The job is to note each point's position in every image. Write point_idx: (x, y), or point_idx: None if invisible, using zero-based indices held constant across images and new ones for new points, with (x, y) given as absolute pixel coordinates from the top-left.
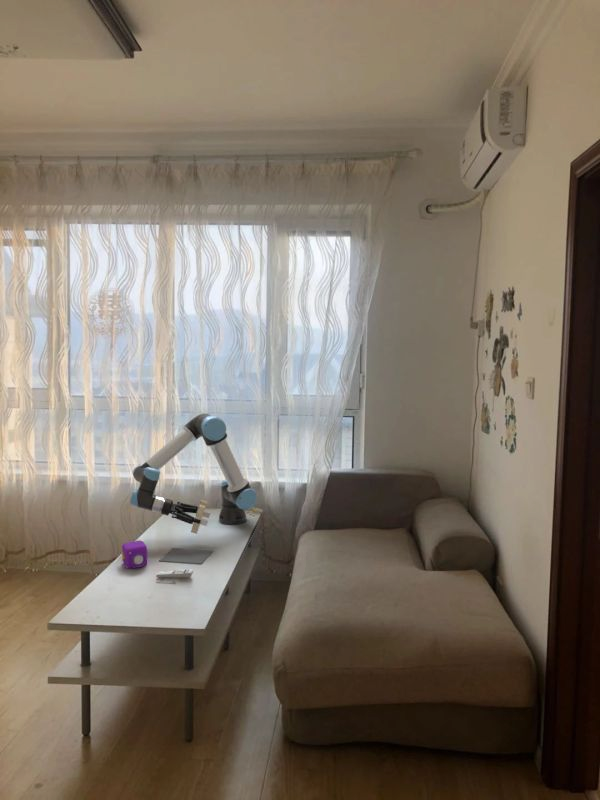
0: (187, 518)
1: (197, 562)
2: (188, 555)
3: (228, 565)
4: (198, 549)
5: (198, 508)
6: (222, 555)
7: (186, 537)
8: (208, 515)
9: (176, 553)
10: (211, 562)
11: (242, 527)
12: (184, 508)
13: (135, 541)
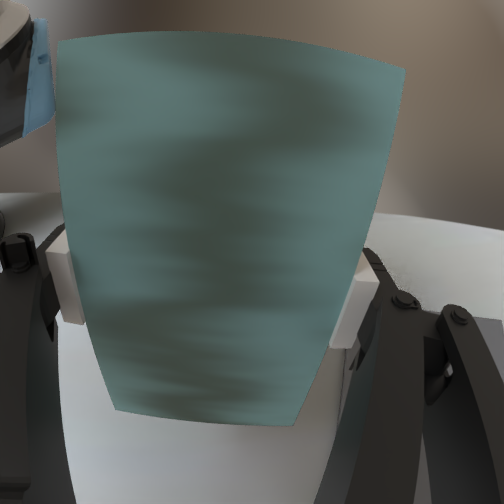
0: (488, 366)
1: (500, 338)
2: None
3: (468, 231)
4: (345, 381)
5: (395, 115)
6: (391, 256)
7: (83, 480)
8: None
9: (418, 494)
10: (470, 288)
11: (42, 212)
12: (43, 499)
13: None
